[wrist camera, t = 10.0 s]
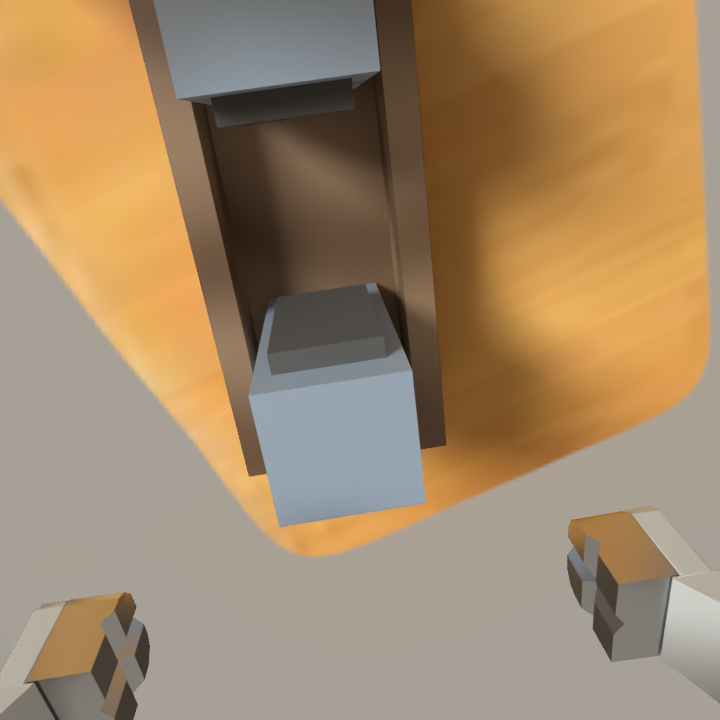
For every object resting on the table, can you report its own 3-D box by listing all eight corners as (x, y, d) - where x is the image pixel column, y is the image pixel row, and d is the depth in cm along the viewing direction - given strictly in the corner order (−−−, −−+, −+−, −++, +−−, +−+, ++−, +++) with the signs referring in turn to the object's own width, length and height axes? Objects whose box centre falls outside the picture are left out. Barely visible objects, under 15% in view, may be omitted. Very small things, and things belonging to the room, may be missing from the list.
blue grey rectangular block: (266, 283, 21) (242, 373, 13) (373, 267, 21) (409, 347, 13) (288, 393, 22) (279, 527, 15) (387, 378, 22) (426, 503, 15)
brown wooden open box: (144, -43, 17) (-5, -193, 9) (385, -75, 17) (454, -250, 9) (256, 430, 24) (230, 591, 16) (428, 403, 24) (490, 549, 16)
